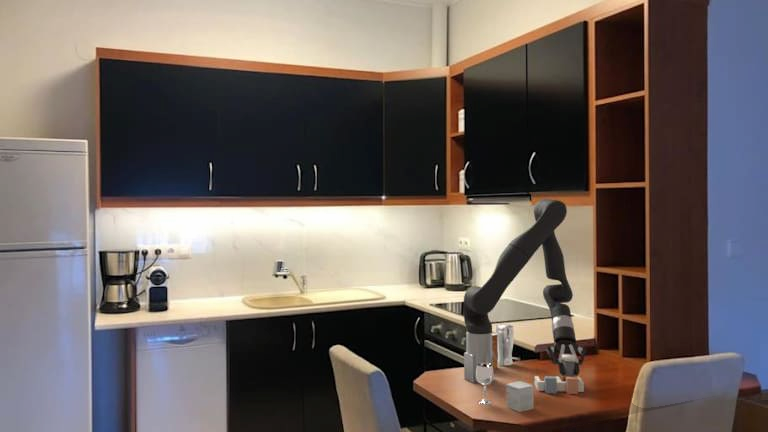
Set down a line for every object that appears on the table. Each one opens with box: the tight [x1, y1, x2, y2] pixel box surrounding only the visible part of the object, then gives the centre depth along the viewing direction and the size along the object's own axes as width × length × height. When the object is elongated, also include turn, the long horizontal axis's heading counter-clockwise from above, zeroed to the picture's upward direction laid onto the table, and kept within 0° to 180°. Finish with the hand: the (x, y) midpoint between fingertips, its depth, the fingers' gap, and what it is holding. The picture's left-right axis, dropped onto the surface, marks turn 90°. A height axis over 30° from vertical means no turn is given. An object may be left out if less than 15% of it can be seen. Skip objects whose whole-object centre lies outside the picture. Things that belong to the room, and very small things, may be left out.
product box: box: [506, 380, 535, 413], centre depth 190 cm, size 6×6×7 cm
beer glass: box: [495, 323, 515, 367], centre depth 240 cm, size 7×7×15 cm
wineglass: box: [476, 363, 495, 405], centre depth 196 cm, size 6×6×12 cm
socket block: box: [533, 375, 585, 395], centre depth 209 cm, size 11×15×5 cm
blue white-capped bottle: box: [562, 354, 577, 382], centre depth 210 cm, size 5×5×10 cm
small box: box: [492, 332, 498, 370], centre depth 236 cm, size 8×6×13 cm
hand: (569, 374), depth 208 cm, fingers closed on blue white-capped bottle, 4 cm apart
